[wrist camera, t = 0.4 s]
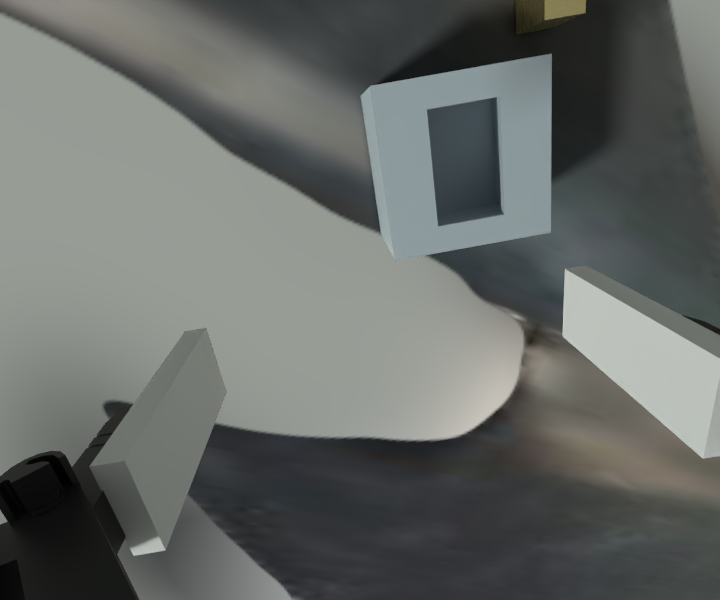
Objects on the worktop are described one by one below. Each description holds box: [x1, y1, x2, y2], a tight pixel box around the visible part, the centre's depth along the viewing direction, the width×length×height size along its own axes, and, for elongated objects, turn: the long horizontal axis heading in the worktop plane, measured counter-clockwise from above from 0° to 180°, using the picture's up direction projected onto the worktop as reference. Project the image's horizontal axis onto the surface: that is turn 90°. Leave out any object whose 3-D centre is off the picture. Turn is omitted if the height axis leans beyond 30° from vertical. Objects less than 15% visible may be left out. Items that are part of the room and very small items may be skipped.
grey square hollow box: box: [361, 54, 552, 260], centre depth 34 cm, size 12×12×9 cm
